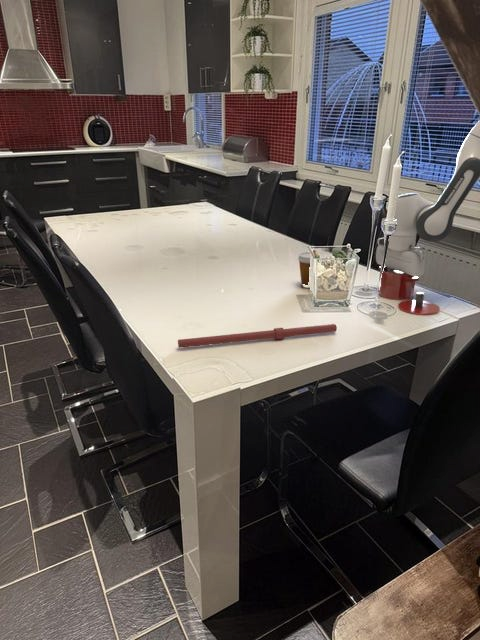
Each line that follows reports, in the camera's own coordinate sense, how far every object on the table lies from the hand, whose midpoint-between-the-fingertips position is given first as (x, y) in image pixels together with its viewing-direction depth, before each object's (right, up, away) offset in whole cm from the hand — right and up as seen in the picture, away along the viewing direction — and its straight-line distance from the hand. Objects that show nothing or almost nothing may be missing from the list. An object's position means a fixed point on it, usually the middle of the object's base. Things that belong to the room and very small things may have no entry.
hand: (397, 282), depth 161 cm
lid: (+3, -9, -11) cm, 15 cm away
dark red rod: (-49, -19, -31) cm, 61 cm away
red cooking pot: (0, -5, +2) cm, 5 cm away
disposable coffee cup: (-28, 0, +15) cm, 32 cm away
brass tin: (0, -1, +1) cm, 2 cm away
